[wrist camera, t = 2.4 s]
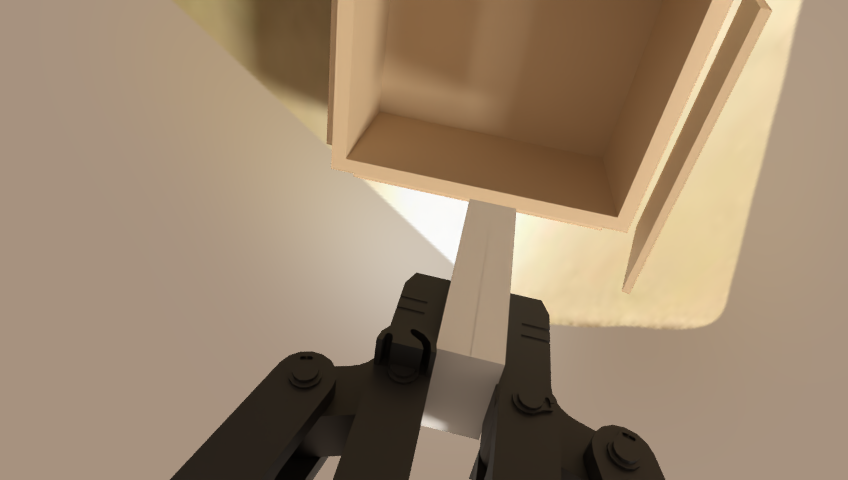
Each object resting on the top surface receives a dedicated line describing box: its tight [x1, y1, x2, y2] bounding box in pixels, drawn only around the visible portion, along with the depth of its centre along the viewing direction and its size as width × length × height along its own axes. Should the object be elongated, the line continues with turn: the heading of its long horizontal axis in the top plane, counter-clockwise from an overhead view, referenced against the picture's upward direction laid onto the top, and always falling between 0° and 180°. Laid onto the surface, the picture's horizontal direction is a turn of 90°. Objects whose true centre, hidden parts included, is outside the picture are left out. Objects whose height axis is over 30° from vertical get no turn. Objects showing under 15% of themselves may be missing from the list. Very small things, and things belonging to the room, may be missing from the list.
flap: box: [622, 0, 772, 294], centre depth 26 cm, size 8×14×1 cm
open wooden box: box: [327, 0, 733, 233], centre depth 35 cm, size 22×18×10 cm
